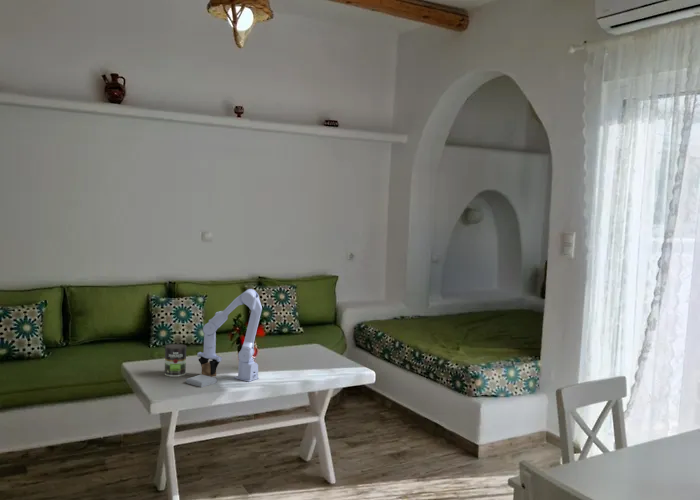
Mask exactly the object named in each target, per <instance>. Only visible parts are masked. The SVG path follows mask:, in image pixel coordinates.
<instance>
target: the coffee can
mask: <svg viewBox="0 0 700 500" xmlns="http://www.w3.org/2000/svg"><path fill="white" fill-rule="evenodd" d="M187 347H188V346H187V345H186V344H183V343H169V344H166V345H165V346H164V349H165V351H164V376H166V377H172V378H173V377H175V378H176V377H177V378H178V377H182V376H183V377H184V376H185V375H186V368H187V367H186V366H187Z"/></svg>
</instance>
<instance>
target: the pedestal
mask: <svg viewBox="0 0 700 500" xmlns="http://www.w3.org/2000/svg"><path fill="white" fill-rule="evenodd" d="M217 381H218V379H217V377H215V376H214V377H210V376H206V375H203V374H202V373H201V374H198V375H195V376H192V377H188V378H186V380H185V383H186V384H188V385H193V386H195V387H200V388H203V387H207V386H209V385H213V384H215V383H217Z"/></svg>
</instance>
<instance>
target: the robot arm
mask: <svg viewBox="0 0 700 500" xmlns="http://www.w3.org/2000/svg"><path fill="white" fill-rule="evenodd" d="M242 305H246V307H248V308H249V310H250V311H251V312H250V315H249V318H248V324H247V327H246V332H245V337H244V341H243V344H242V345H241V349H240V351H239V352H238V354H237V358H238V367H237V368H238V370H237V371H238V372H237V373H238V374H237V376H234V377H233V378H234V379H237V380H241V381H243V382H244V381H245V382H251V381H255V380H257V379H260V377H259V364H258V363H257V362H255V361H254V357H253V356H254V354H255V349H254V348H255V340H256V335H257V330H258V327H259V323H260V318H261V315H262V311H263V307H262V303H261V300H260V296H259V293H258V292H257V291H256V290H255V289H253V288H247V289H246V290H245V291H243V292H242V293H241V294H240V295H238V296H237V297H235V298H234V299H233V301H231V303H229V304H228V306H227V307H226V308H224V310H220V311H216V312H215V313H214V316H213V317H211V318H210V319H208V322H207V323H205V324H204V325H203V327H202V332H203V336H204V337H203V352H201V351H198V352H197V355H196V356H197V357H198V362H199V364H200V366H201V368H202V364H205V363H208V362H209V363H210V367H211V375H213V374H215V372H216V373H217V368H218V366H219V364H220V362H222V357H221V356H219V355H218V354H217V353H216V347H217V345H216V342H217V337H216V336H217V333H216V332H217V331H218V329H220V328H221V326H222V325H223V324H225V322H226V321H228V319H229V318H228V317H229V315H230V313H232V312H233V311H234V310H236V308H237V307H239V306H242Z"/></svg>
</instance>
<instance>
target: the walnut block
mask: <svg viewBox="0 0 700 500" xmlns="http://www.w3.org/2000/svg"><path fill="white" fill-rule="evenodd" d="M201 374H203V375H206V376H210V377H214V378H215V377H216V376H217V371H216V372H215V374H213V375H211V367H210V363H209V361H208V363H205V364H202V367H201Z"/></svg>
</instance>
